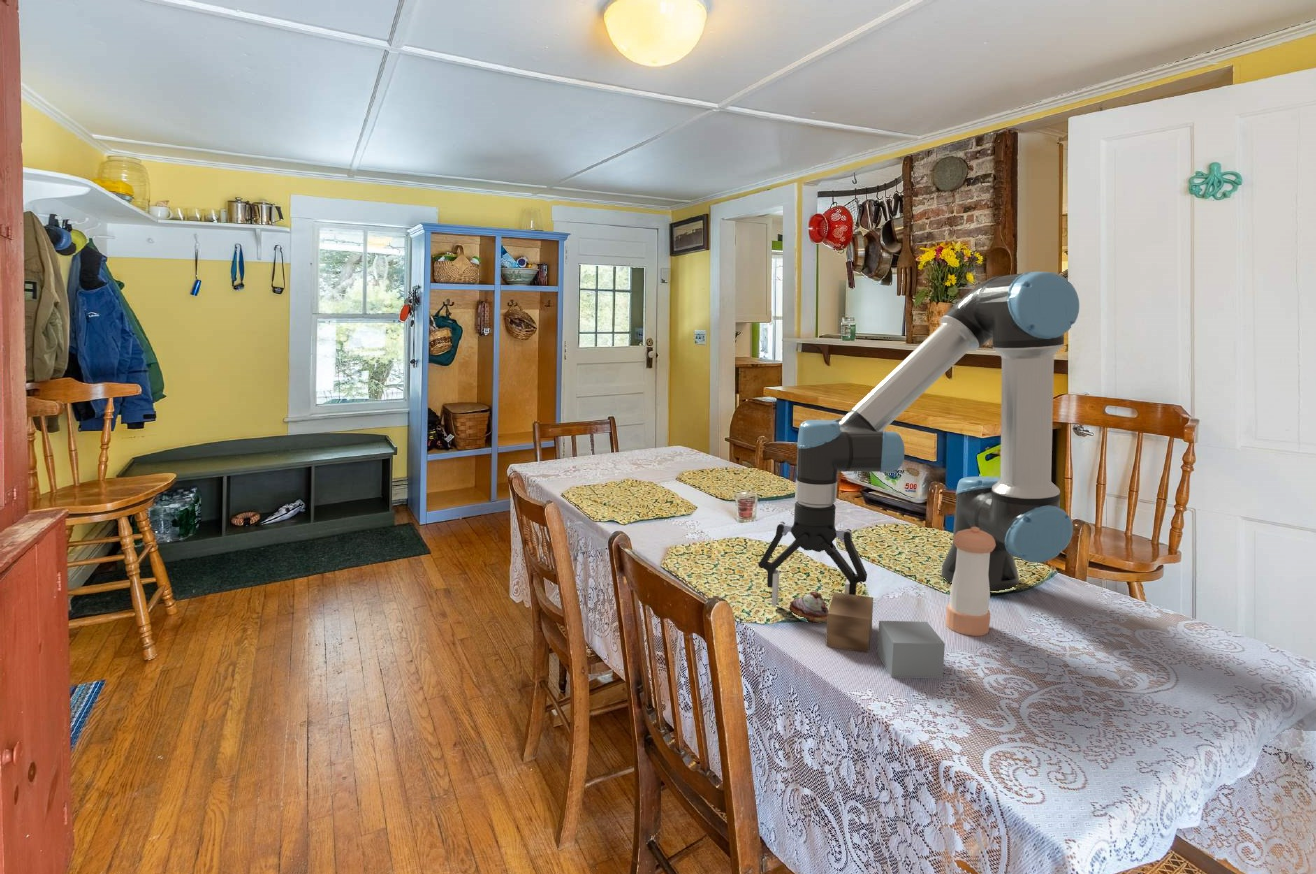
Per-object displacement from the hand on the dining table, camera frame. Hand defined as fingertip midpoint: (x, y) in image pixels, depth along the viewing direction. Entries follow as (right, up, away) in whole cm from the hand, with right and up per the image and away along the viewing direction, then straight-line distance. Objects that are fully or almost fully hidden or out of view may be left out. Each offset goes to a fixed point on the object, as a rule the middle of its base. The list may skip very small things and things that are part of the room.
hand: (809, 608), depth 132 cm
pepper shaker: (+28, -2, -6) cm, 29 cm away
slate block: (+12, -4, -20) cm, 24 cm away
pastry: (0, -1, -1) cm, 2 cm away
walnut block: (+5, -2, -10) cm, 11 cm away
